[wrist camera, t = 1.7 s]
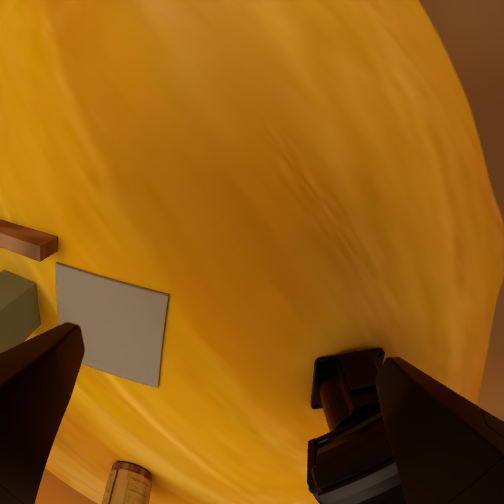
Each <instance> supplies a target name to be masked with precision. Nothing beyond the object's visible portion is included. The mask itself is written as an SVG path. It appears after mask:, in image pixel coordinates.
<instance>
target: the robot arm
mask: <svg viewBox="0 0 504 504" xmlns="http://www.w3.org/2000/svg"><path fill="white" fill-rule="evenodd" d="M84 353H85V346H84V341H83V336H82V331H81V327H80V326H79V325H78V324H74V323H70V322H65V323H63V324H61V325H59V326H57V327H55V328H53V329H50V330H48V331H46V332H44V333H42V334H40V335H38V336H36V337H33V338H31V339H29V340H27V341H25V342H23V343H21V344H19V345H17V346H15V347H12V348H10V349H8V350H6V351H4V352H2V353H0V504H35V500H36V496H37V493H38V489H39V485H40V482H41V478H42V475H43V472H44V469H45V466H46V463H47V459H48V456H49V453H50V451H51V448H52V445H53V442H54V439H55V436H56V434H57V431H58V428H59V426H60V423H61V421H62V418H63V416H64V413H65V411H66V408H67V406H68V403H69V401H70V398H71V395H72V392H73V389H74V385H75V382H76V379H77V375H78V372H79V369H80V366H81V363H82V360H83V357H84ZM379 353H380V354H379ZM384 355H385V352H384V350H383V349H382V348H377V349H371V350H366V351H360V352H355V353H349V354H343V355H336V356H329V357H322V358H318V359H317V360H316V361H315V364H314V375H313V386H312V395H311V407H312V409H319V408H323V410H324V413H325V416H326V420H327V423H328V426H329V430H330V432H329V433H327V434H325V435H323V436H321V437H318V438H316V439H315V438H314V439H312V440H309V441H308V464H307V484H308V486H309V491H310V492H311V493H312V494H313V495H314V497H315V498H316V500H317V501H318V502H319V503H320V504H504V421H502V420H500V419H498V418H496V417H495V416H493V415H491V414H490V413H488V412H486V411H485V410H483V409H481V408H479V407H478V406H477V405H475V404H473V403H472V402H470V401H469V400H467V399H465V398H464V397H462V396H460V395H459V394H457V393H456V392H454V391H452V390H451V389H449V388H448V387H446V386H444V385H443V384H441V383H440V382H438V381H436V380H435V379H433V378H432V377H430V376H428V375H427V374H425V373H424V372H422V371H420V370H419V369H417V368H416V367H414V366H413V365H411V364H409V363H408V362H406V361H405V360H403V359H401V358H400V357H388V358H387V359H386V360H385V361H384V363H383V359H384ZM320 363H322V364H320ZM382 363H383V365H382Z"/></svg>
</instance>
